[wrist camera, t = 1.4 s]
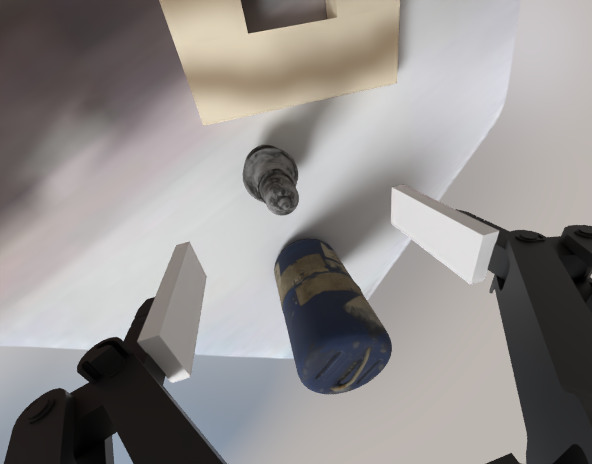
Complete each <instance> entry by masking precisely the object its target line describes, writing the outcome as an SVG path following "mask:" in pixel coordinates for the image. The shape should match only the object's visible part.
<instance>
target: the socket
mask: <svg viewBox="0 0 592 464" xmlns="http://www.w3.org/2000/svg"><path fill="white" fill-rule="evenodd" d="M159 1H160V4H161V7H162V9H163V12H164V15H165V18H166V21H167V24H168V26H169V29H170V32H171V35H172V38H173V41H174V43H175V46H176V49H177V52H178V55H179V58H180V60H181V63H182V66H183V69H184V72H185V75H186V77H187V80H188V83H189V86H190V89H191V92H192V94H193V97H194V100H195V103H196V106H197V109H198V111H199V114H200V117H201V120H202V123H203V126H205V125H210V124H214V123H219V122H223V121H228V120H232V119H237V118H241V117H246V116H250V115H255V114H259V113H264V112H269V111H273V110H278V109H282V108H287V107H291V106H296V105H300V104H305V103H309V102H314V101H318V100H323V99H328V98H332V97H337V96H341V95H346V94H350V93H355V92H359V91H364V90H368V89H373V88H377V87H382V86H387V85H391V84H396V83H397V68H398V40H399V11H400V0H326V12H327V19H326V20H321V21H315V22H310V23H304V24H299V25H293V26H288V27H282V28H277V29H271V30H266V31H260V32H255V33H249V34H248V31H247V27H246V22H245V18H244V13H243V9H242V4H241V0H159Z"/></svg>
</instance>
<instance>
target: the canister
mask: <svg viewBox="0 0 592 464" xmlns="http://www.w3.org/2000/svg"><path fill="white" fill-rule="evenodd" d="M274 273H275V279H276V283H277V287H278V292H279V296H280V301H281V306H282V310H283V313H284V317H285V322H286V325H287V329H288V334H289V338H290V342H291V347H292V351H293V355H294V360H295V363H296V368H297V372H298V375H299V378H300V379H301V382H302V383H303V384H304V385H305V386H306V387H307V388H308V389H310V390H312V391H314V392H317V393H322V394H339V393H343V392H347V391H351V390H353V389H356V388H358V387H360V386H362V385H364V384H366V383H368V382H369V381H371V380H372V379H373V378H374V377H376V376H377V375H378V374H379V373H380V372H381V371H382V370H383V369H384V367H385V366H386V364H387V363H388V361H389V359H390V356H391V351H392V345H391V340H390V337H389V335H388V333H387V331H386V330H385V328H384V326H383V325H382V323H381V322H380V320H379V319H378V317H377V316H376V314H375V312H374V311H373V310H372V308H371V306H370V305H369V303H368V302H367V300H366V298H365V297H364V296H363V294H362V292H361V289H360V287H359V286H358V285H357V284H356V283H355V282H354V281H353V279H352V278H351V276H350V275H349V273H348V272H347V270H346V269H345V267H344V266H343V264H342V263H341V261H340V260H339V258H338V256H337V255H336V253H335V252H334V251H333V249H332V248H331V247H330V246H329V245H328V244H326V243H324V242H322V241H320V240H316V239H304V240H300V241H297V242H294V243H292V244H290V245H289V246H288V247H286V248H285V249H284V250H283V251H282V252H281V253H280V255H279V256H278V258H277V260H276V263H275V268H274Z"/></svg>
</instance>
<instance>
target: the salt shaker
mask: <svg viewBox="0 0 592 464" xmlns="http://www.w3.org/2000/svg"><path fill="white" fill-rule="evenodd" d="M297 180H298V170H297V166H296V164H295V162H294V160H293V159H292V157H291V156H290V155H289V154H288V153H286V152H284V151H283V150H280V149H278V148H276V147H273V146H270V145H263V146H260V147H257V148H255V149H254V150H252V151H251V152H250V153H249V154H248V156H247V158H246V160H245V165H244V170H243V182H244V185H245V188H246V189H247V191H248V192H249V194H250V195H252V196H253V197H254V198H255V199H257V200H259V201H261V202H264V203H266V205H267V207H268V209H269V210H270V211H271V212H273V213H274V214H276V215H287V214H290V213H291V212H293V211H294V210H295V208H296V207H297V205H298V202H299V195H298V191H297V190H296V184H297Z"/></svg>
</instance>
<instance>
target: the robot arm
mask: <svg viewBox="0 0 592 464" xmlns="http://www.w3.org/2000/svg"><path fill="white" fill-rule="evenodd" d="M391 224H392V225H393V226H395V227H396V228H397V229H399V230H400V231H401V232H403V233H404V234H405V235H406V236H408V237H409V238H410V239H412V240H413V241H414V242H416V243H417V244H418V245H420V246H421V247H422V248H423V249H425V250H426V251H427V252H429V253H430V254H431V255H432V256H434V257H435V258H436V259H438V260H439V261H440V262H442V263H443V264H444V265H446V266H447V267H448V268H449V269H451V270H452V271H454V272H455V273H456V274H457V275H459V276H460V277H461V278H462V279H464V280H465V281H466V282H468V283H469V284H470V285H471V284H474V283H477V282H480V281H483V280H485V277H486V274H487V271H488V270H489V271H491V272H492V273H494V274H495V275H494V278H493V281H492V285H491V288H490V293H492V292H493V290H494V289H495V291H496V296H497V300H498V305H499V309H500V314H501V318H502V323H503V327H504V331H505V336H506V341H507V345H508V350H509V354H510V359H511V363H512V368H513V372H514V377H515V381H516V385H517V390H518V395H519V399H520V404H521V408H522V412H523V417H524V422H525V426H526V431H527V450H526V463H527V464H592V278H590V276H591V274H592V226H586V225H572V226H568V227H565V228H564V231H563V233H562V235H561V236H559V237H545V236H543V235H541V234H539V233H536V232H532V231H526V230H515V231H511V232H509V231H507V230H505V229H503V228H501V227H499V226H497V225H494V224H492V223H490V222H488V221H486V220H485V221H484V219H481V218H479V217H476V216H475V215H473V214H471V213H469V212H465V211H461V210H457V209H453V208H451V207H449V206H447V205H445V204H443V203H441V202H438V201H436V200H434V199H432V198H430V197H428V196H426V195H424V194H422V193H420V192H418V191H416V190H413V189H411V188H409V187H407V186H405V185H403V184H401V185H398V186H394V187H392V199H391ZM206 277H207V276H206V274H205V272H204V270H203V268H202V266H201V264H200V262H199V260H198V258H197V256H196V254H195V252H194V250H193V248H192V246H191V244H190V242H186V243H183V244H179V245H176V247H175V250H174V252H173V255H172V257H171V260H170V262H169V264H168V267H167V269H166V272H165V274H164V277H163V279H162V282H161V284H160V287H159V289H158V292H157V294H156V296H155V297H154V298H150V299H147V300H146V301H145V302H144V303H143V304H142V306H141V307H140V308H139V309H138V311H137V313H136V316H135V319H134V320H133V322H132V324H131V327H130V329H129V331H128V333H127V335H126V337H125V339H124V341H122V340H121V339H120V338H118V337H112V338H108V339H106V340H103V341H101V342H100V343H98V344H96V345H95V346H94V347H92V348H91V349H90V350H89V351H88V352H87V353H86V354H85V355H84V356H83V357H82V358H81V360H80V362H79V364H78V366H77V372H78V373H79V374H80V375H81V376H83V377H84V378H85V379H86V380H87V381H89V383H87V384H86V385H84V386H82V387H80V388H78V389H77V390H75V391H73V392H71V393H68V392H67V391H66V390H64V389H61V388H58V389H53V390H51V391H49V392H47V393H45V394H43V395H42V396H40V397H39V398H38V399H36V400H35V401H33V402H32V403H31V404H30V405H29V406H28V407H27V408H26V409H25V410H24V411H23V412H22V414H21V415H20V416H19V418H18V419H17V421H16V423H15V425H14V427H13V430H12V434H11V438H10V442H9V446H8V450H7V454H6V458H5V461H4V464H114V456H113V443H112V435H113V434H115V433H116V432H117V433H118V435H119V436H120V438H121V440H122V442H123V444H124V446H125V448H126V450H127V452H128V454H129V456H130V457H131V460H132V461H133V464H227V463H226V462H225V461H224V459H223V458H222V457H221V456H220V455H219V454H218V452H217V451H216V450H215V449H214V447H213V446H212V445H211V444H210V442H209V441H208V440H207V439H206V438H205V436H204V435H203V434H202V433H201V432H200V430H199V429H198V428H197V427H196V425H195V424H194V423H193V422H192V421H191V419H190V418H189V417H188V416H187V414H186V413H185V412H184V411H183V410H182V408H181V407H180V406H179V405H178V403H177V402H176V401H175V400H174V399H173V397H172V396H171V395H170V394H169V393H168V391H167V390H166V389H165V388H164V387H163V383H164V379H165V376H166V377H167V378H168V379H169V380H170V381H171V383H173V382H176V381H179V380H183V379H185V378H188V377H191V371H192V365H193V358H194V352H195V346H196V340H197V333H198V327H199V321H200V315H201V308H202V302H203V296H204V289H205V283H206ZM487 464H520V463H519V462H518V461H517V459H516V458H515V457H514V456H513V454H512V453H510V454H508V455H505V456H503V457H501V458H498V459H496V460H494V461H491V462H489V463H487Z"/></svg>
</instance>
